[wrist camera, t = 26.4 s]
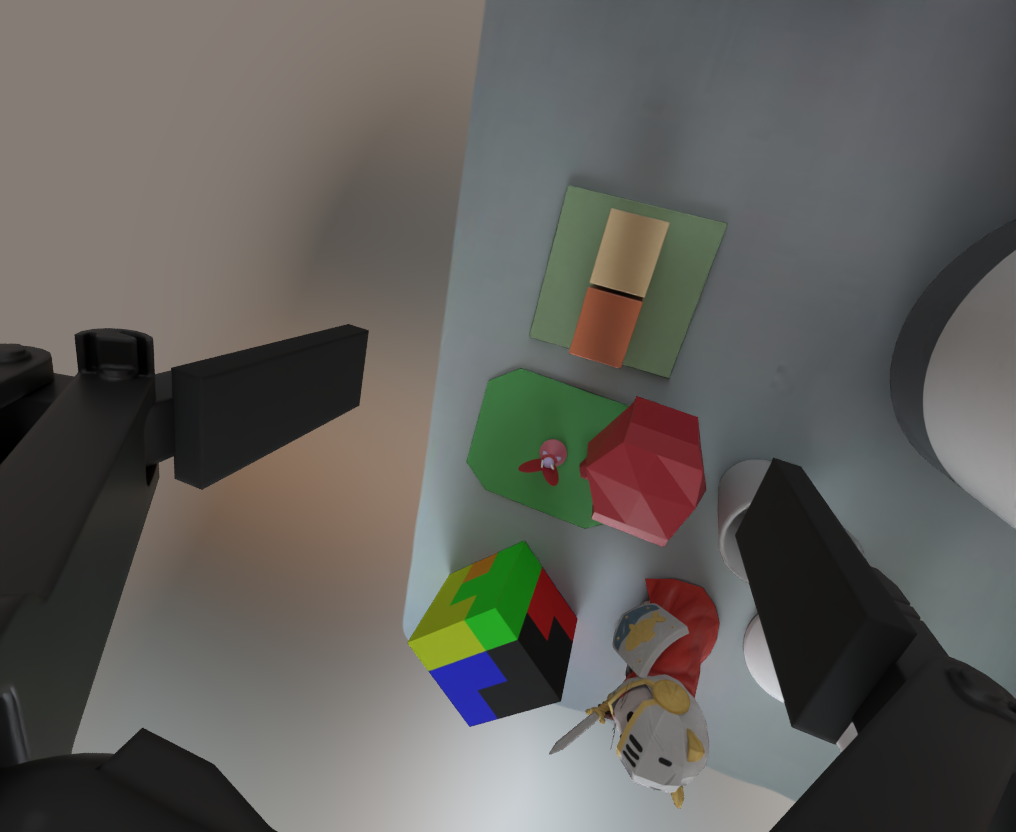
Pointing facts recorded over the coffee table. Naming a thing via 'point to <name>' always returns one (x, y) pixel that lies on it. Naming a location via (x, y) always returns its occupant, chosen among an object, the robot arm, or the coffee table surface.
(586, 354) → the terracotta piece
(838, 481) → the coffee table surface
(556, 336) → the mat
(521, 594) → the puzzle toy
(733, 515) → the cup
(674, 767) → the figurine
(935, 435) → the planter
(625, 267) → the birch piece
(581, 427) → the low-poly diorama
